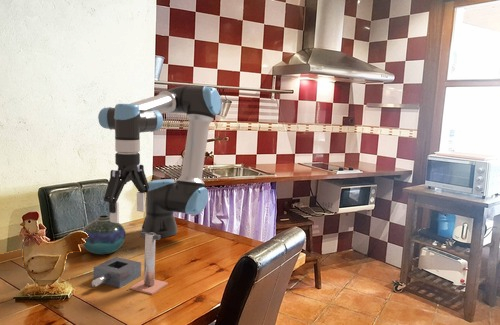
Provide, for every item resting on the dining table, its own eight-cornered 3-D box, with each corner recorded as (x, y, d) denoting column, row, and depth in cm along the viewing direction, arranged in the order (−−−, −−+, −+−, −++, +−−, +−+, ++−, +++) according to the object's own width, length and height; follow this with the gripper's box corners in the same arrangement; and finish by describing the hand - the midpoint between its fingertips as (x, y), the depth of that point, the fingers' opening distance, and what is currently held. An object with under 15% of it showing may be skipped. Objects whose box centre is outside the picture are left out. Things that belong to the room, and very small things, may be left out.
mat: (146, 278, 124) (146, 277, 124) (168, 284, 122) (168, 282, 121) (130, 288, 117) (130, 287, 117) (152, 294, 114) (152, 293, 114)
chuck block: (116, 269, 130) (116, 256, 130) (140, 275, 127) (141, 262, 126) (81, 287, 116) (81, 273, 116) (107, 294, 113) (107, 280, 112)
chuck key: (160, 285, 119) (162, 234, 117) (154, 289, 117) (156, 237, 115) (143, 280, 122) (144, 230, 120) (137, 284, 119) (138, 233, 117)
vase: (99, 242, 155) (99, 209, 154) (133, 247, 151) (133, 214, 149) (71, 255, 141) (71, 219, 139) (108, 261, 136) (108, 224, 135)
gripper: (141, 147, 139) (141, 205, 142) (90, 156, 115) (91, 225, 119) (159, 149, 136) (159, 208, 139) (110, 158, 113) (112, 229, 116)
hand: (128, 216), depth 129 cm, fingers open, 13 cm apart
